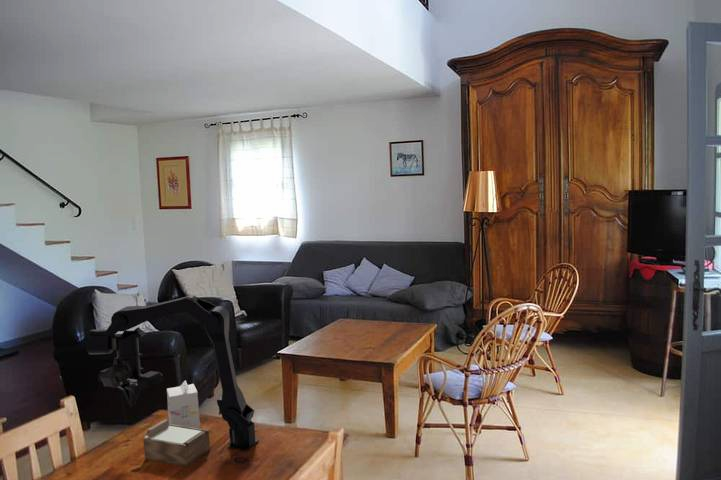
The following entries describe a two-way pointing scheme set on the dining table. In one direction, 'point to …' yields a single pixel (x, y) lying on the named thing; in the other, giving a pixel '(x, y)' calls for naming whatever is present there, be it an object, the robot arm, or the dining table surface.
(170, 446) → the walnut box
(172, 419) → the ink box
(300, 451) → the dining table surface
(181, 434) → the lid
